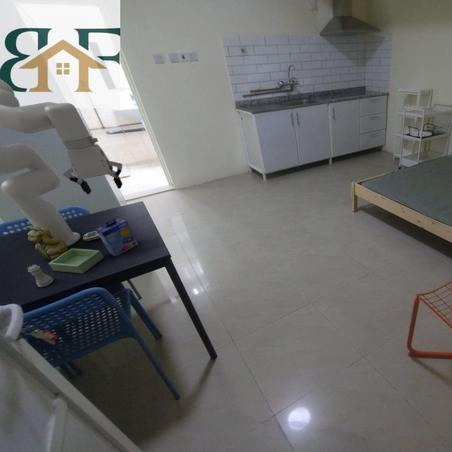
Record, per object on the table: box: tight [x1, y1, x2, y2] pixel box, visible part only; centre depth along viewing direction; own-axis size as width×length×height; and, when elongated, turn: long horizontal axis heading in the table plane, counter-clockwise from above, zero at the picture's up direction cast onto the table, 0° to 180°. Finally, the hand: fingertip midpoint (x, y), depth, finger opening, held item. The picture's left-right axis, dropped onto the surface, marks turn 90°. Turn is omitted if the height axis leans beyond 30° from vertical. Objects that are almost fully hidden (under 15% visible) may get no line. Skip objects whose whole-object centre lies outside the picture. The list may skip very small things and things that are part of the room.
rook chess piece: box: [27, 264, 54, 288], centre depth 100 cm, size 4×4×8 cm
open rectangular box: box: [48, 247, 105, 274], centre depth 110 cm, size 14×10×4 cm
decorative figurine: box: [25, 225, 69, 261], centre depth 113 cm, size 10×8×15 cm
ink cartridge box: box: [95, 217, 139, 257], centre depth 114 cm, size 10×6×14 cm, turn 152°
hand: (105, 190), depth 102 cm, fingers open, 9 cm apart
